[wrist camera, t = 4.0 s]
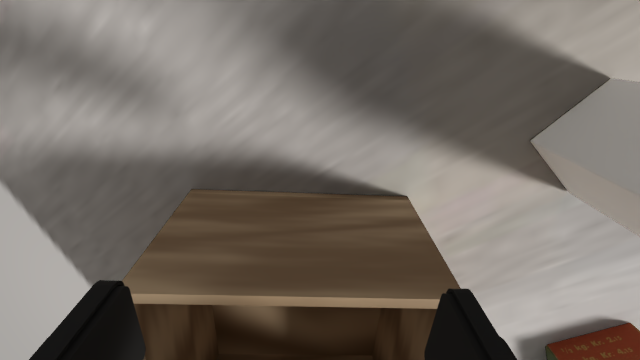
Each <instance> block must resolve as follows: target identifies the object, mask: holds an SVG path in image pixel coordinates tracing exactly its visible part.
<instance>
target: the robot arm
mask: <svg viewBox="0 0 640 360" xmlns="http://www.w3.org/2000/svg"><path fill="white" fill-rule="evenodd" d="M145 352H146V347H145V343H144V339H143V335H142V332H141V328H140V325H139V321H138V317H137V314H136V310H135V307H134V303H133V299H132V296H131V292H130V289H129V287H128V286H125V285H124V283H123V282H122V281H102V280H100V281H98V282H96V283H95V284H94V285H93V286H92V287H91V289H90V290H89V291H88V292H87V293H86V294H85V296H84V297H83V298H82V299H81V300H80V302H79V303H78V304H77V305H76V306H75V307H74V308H73V310H72V311H71V312H70V313H69V314H68V315H67V317H66V318H65V319H64V320H63V321H62V322H61V324H60V325H59V326H58V327H57V328H56V330H55V331H54V332H53V333H52V334H51V335H50V336H49V337H48V338H47V339H46V341H45V342H44V343H43V344H42V345H41V346H40V347H39V349H38V350H37V351H36V352H35V353H34V354H33V356H32V357H31V358H30V359H29V360H143V359H144V356H145ZM424 357H425V360H517V359H516V357H515V356H514V354H513V352H512V351H511V349H510V348H509V346H508V345H507V343H506V342H505V341H504V339H502V338H501V337H500V336H499V335H498V334H497V332H496V331H495V329H494V327H493V326H492V324H491V322H490V321H489V319H488V318H487V316H486V314H485V313H484V311H483V310H482V308H481V306H480V305H479V303H478V301H477V300H476V298H475V297H474V295H473V293H472V292H471V291H470V290H469V289H448V290H447V292H446V293H443V294H442V295H441V298H440V301H439V304H438V308H437V311H436V314H435V318H434V321H433V324H432V327H431V331H430V334H429V337H428V341H427V344H426V347H425V351H424Z"/></svg>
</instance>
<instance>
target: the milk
mask: <svg viewBox="0 0 640 360" xmlns="http://www.w3.org/2000/svg"><path fill="white" fill-rule="evenodd" d="M531 143H532V144H533V146H534V147H535V148H536V150H537V151H538V152H539V154H540V155H541V156H542V158H543V159H544V160H545V162H546V163H547V164H548V166H549V167H550V168H551V170H552V171H553V172H554V174H555V175H556V176H557V178H558V179H559V180H560V181H561V183H562V184H563V185H564V187H565V188H566V189H567V191H568V192H569V193H571V194H572V195H574V196H575V197H577V198H579V199H580V200H582V201H583V202H585V203H587V204H588V205H590V206H591V207H593V208H595V209H596V210H598V211H599V212H601V213H603V214H604V215H606V216H607V217H609V218H611V219H612V220H614V221H615V222H617V223H619V224H620V225H622V226H623V227H625V228H627V229H628V230H630V231H631V232H633V233H635V234H636V235H638V236H639V237H640V82H635V81H629V80H622V79H615V78H611V79H610V80H608V81H607V82H606V83H604V84H603V85H602V86H600V87H599V88H598V89H597V90H595V91H594V92H593V93H591V94H590V95H589V96H588V97H586V98H585V99H584V100H582V101H581V102H580V103H578V104H577V105H576V106H575V107H573V108H572V109H571V110H569V111H568V112H567V113H565V114H564V115H563V116H562V117H560V118H559V119H558V120H556V121H555V122H554V123H552V124H551V125H550V126H549V127H547V128H546V129H545V130H543V131H542V132H541V133H539V134H538V135H537V136H536V137H534V138H533V139H532V140H531Z"/></svg>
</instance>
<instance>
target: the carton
mask: <svg viewBox="0 0 640 360" xmlns="http://www.w3.org/2000/svg"><path fill="white" fill-rule="evenodd" d="M545 348H546V356H547V360H640V331H639V330H638V329H637V328H636V327H635V326H634V325H632V324H631V323H627V324H623V325H619V326H616V327H611V328H608V329H604V330H600V331H596V332H593V333H589V334H585V335H582V336H578V337H574V338H570V339H566V340H562V341H559V342H555V343H551V344H548V345H547V346H546V347H545Z"/></svg>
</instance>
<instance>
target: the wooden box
mask: <svg viewBox="0 0 640 360" xmlns="http://www.w3.org/2000/svg"><path fill="white" fill-rule="evenodd" d="M122 282H123V283H124V285H125V286H128V287H129V289H130V292H131V296H132V299H133V303H134V307H135V310H136V314H137V317H138V321H139V325H140V328H141V332H142V335H143V339H144V343H145V347H146V352H145V356H144V359H143V360H425V357H424V351H425V347H426V344H427V341H428V337H429V334H430V331H431V327H432V324H433V321H434V318H435V314H436V311H437V308H438V304H439V301H440V298H441V295H442V294H443V293H446V292H447V290H448V289H461V288H460V287H459V285H458V283H457V281H456V280H455V278H454V276H453V275H452V273H451V271H450V269H449V268H448V266H447V264H446V262H445V261H444V259H443V257H442V256H441V254H440V252H439V250H438V249H437V247H436V245H435V243H434V242H433V240H432V238H431V237H430V235H429V233H428V231H427V230H426V228H425V226H424V225H423V223H422V221H421V219H420V218H419V216H418V214H417V212H416V211H415V209H414V207H413V206H412V204H411V202H410V200H409V199H408V197H407V196H379V195H349V194H319V193H289V192H259V191H229V190H200V189H191V191H190V192H189V193H188V195H187V196H186V197H185V199H184V200H183V201H182V202H181V204H180V205H179V206H178V208H177V209H176V210H175V212H174V213H173V214H172V216H171V217H170V218H169V220H168V221H167V222H166V224H165V225H164V226H163V228H162V229H161V230H160V231H159V233H158V234H157V235H156V237H155V238H154V239H153V241H152V242H151V243H150V245H149V246H148V247H147V249H146V250H145V251H144V253H143V254H142V255H141V257H140V258H139V259H138V260H137V262H136V263H135V264H134V266H133V267H132V268H131V270H130V271H129V272H128V274H127V275H126V276H125V278H124V279H123V280H122Z"/></svg>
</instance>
